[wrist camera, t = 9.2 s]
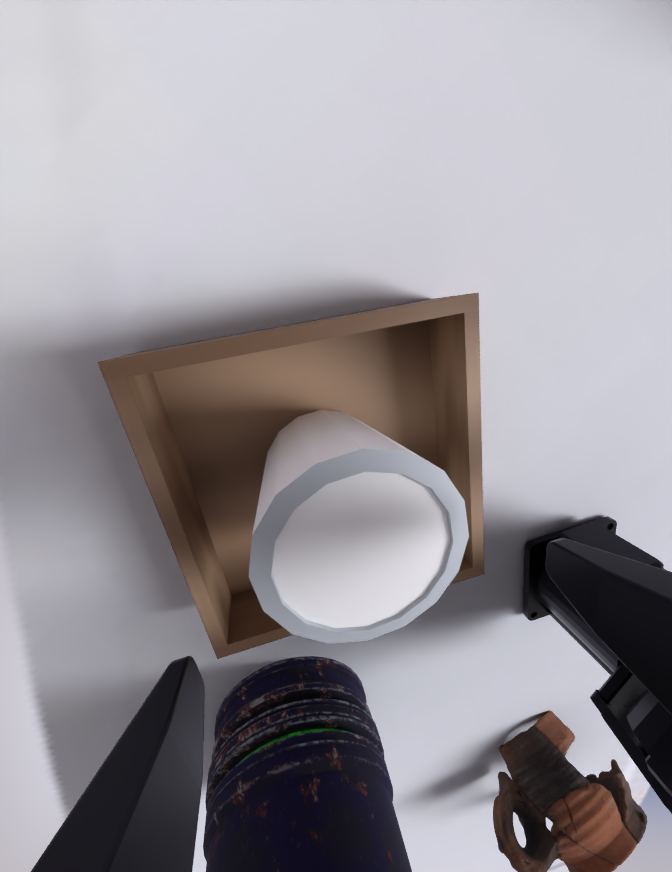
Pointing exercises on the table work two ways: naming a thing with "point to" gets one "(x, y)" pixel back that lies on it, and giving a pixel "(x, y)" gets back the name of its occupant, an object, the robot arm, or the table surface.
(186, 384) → the walnut crate
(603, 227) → the table surface
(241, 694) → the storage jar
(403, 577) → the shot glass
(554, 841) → the brown hollow curved piece
